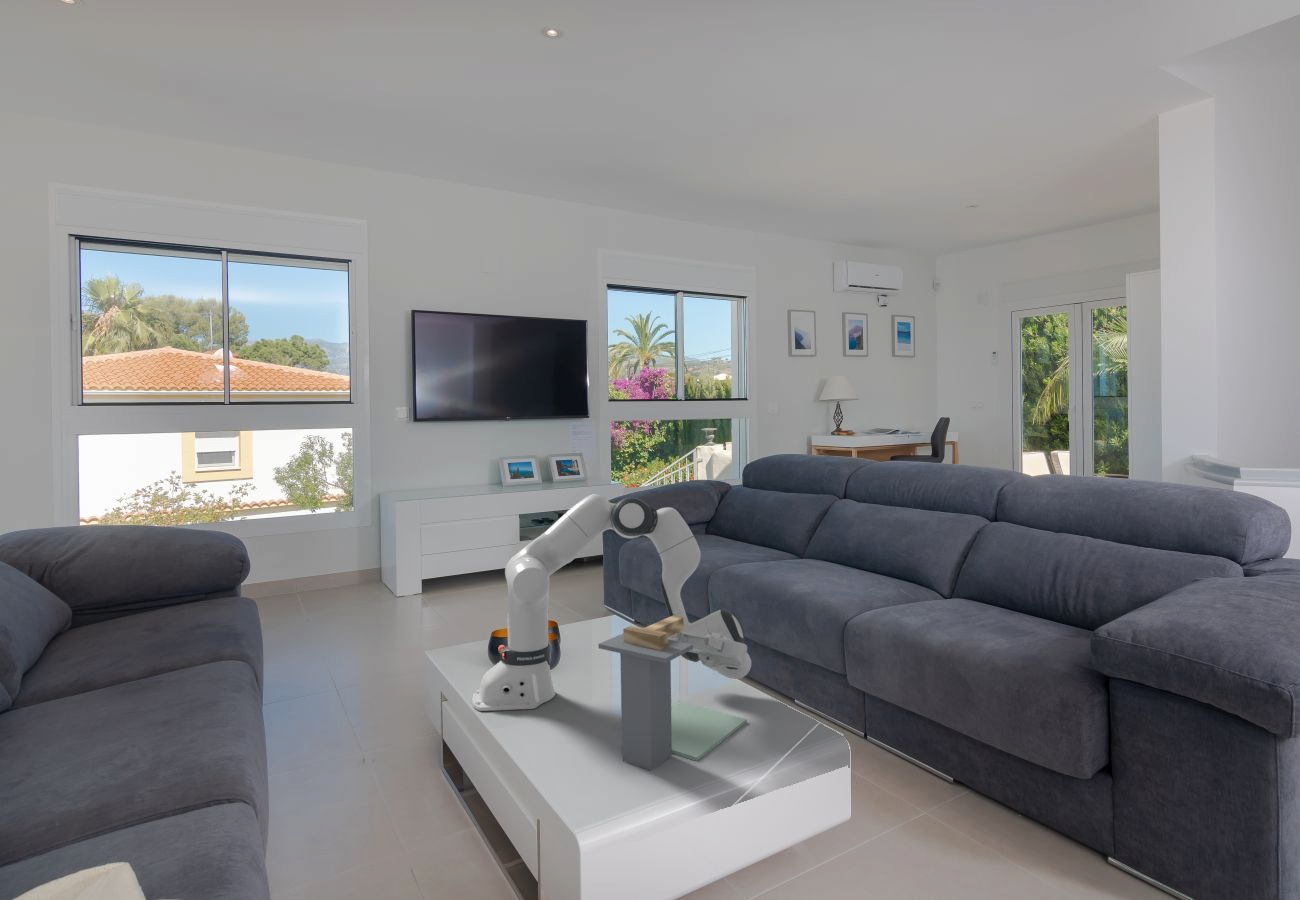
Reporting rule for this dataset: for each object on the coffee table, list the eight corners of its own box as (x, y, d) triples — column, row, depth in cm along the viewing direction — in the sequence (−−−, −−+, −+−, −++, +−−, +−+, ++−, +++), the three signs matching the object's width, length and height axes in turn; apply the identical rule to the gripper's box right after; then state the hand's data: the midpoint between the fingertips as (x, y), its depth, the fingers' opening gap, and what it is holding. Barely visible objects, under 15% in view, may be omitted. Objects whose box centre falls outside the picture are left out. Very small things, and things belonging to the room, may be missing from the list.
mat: (679, 704, 188) (679, 701, 188) (746, 722, 176) (746, 718, 176) (625, 738, 168) (625, 735, 168) (696, 761, 157) (696, 757, 157)
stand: (629, 738, 168) (627, 631, 167) (694, 759, 158) (692, 644, 156) (600, 757, 159) (598, 643, 158) (666, 780, 149) (665, 658, 147)
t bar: (660, 625, 171) (660, 613, 171) (696, 632, 165) (696, 619, 165) (623, 642, 159) (623, 628, 159) (660, 649, 153) (660, 636, 153)
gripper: (684, 633, 190) (659, 618, 180) (753, 646, 179) (730, 631, 169) (678, 656, 188) (652, 642, 178) (747, 671, 176) (724, 657, 166)
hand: (691, 637), depth 173 cm, fingers open, 8 cm apart
